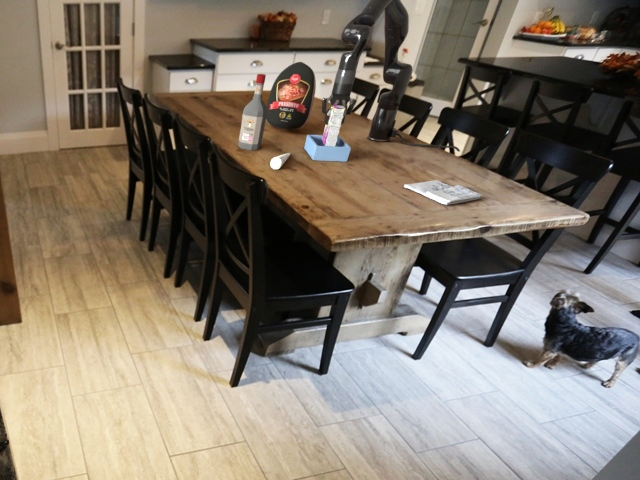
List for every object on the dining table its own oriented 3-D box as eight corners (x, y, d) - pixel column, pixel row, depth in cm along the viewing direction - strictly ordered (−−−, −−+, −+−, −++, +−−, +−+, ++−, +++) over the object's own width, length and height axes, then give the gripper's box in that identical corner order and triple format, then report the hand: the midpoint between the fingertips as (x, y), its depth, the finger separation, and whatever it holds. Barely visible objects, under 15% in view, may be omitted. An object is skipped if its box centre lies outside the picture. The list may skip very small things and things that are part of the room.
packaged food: (260, 130, 251) (272, 63, 232) (266, 121, 265) (278, 58, 247) (304, 136, 245) (320, 68, 226) (308, 126, 259) (323, 61, 241)
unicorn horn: (298, 156, 219) (300, 145, 216) (279, 171, 203) (282, 159, 200) (287, 154, 221) (289, 143, 218) (268, 168, 205) (271, 157, 202)
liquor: (255, 151, 223) (268, 77, 205) (236, 147, 227) (247, 75, 208) (262, 146, 229) (275, 74, 211) (243, 143, 233) (255, 71, 215)
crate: (335, 149, 229) (339, 135, 225) (346, 161, 215) (351, 147, 211) (304, 148, 229) (307, 134, 225) (313, 160, 215) (316, 146, 212)
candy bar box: (320, 140, 224) (330, 101, 214) (332, 141, 223) (342, 101, 213) (323, 147, 215) (333, 107, 205) (335, 148, 215) (346, 108, 204)
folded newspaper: (446, 206, 177) (448, 201, 176) (401, 187, 191) (403, 181, 190) (482, 199, 183) (485, 194, 182) (436, 181, 198) (438, 175, 196)
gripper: (359, 79, 206) (347, 122, 217) (324, 78, 207) (314, 121, 217) (364, 83, 200) (352, 127, 211) (329, 82, 201) (318, 126, 211)
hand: (333, 124), depth 214 cm, fingers closed on candy bar box, 5 cm apart
